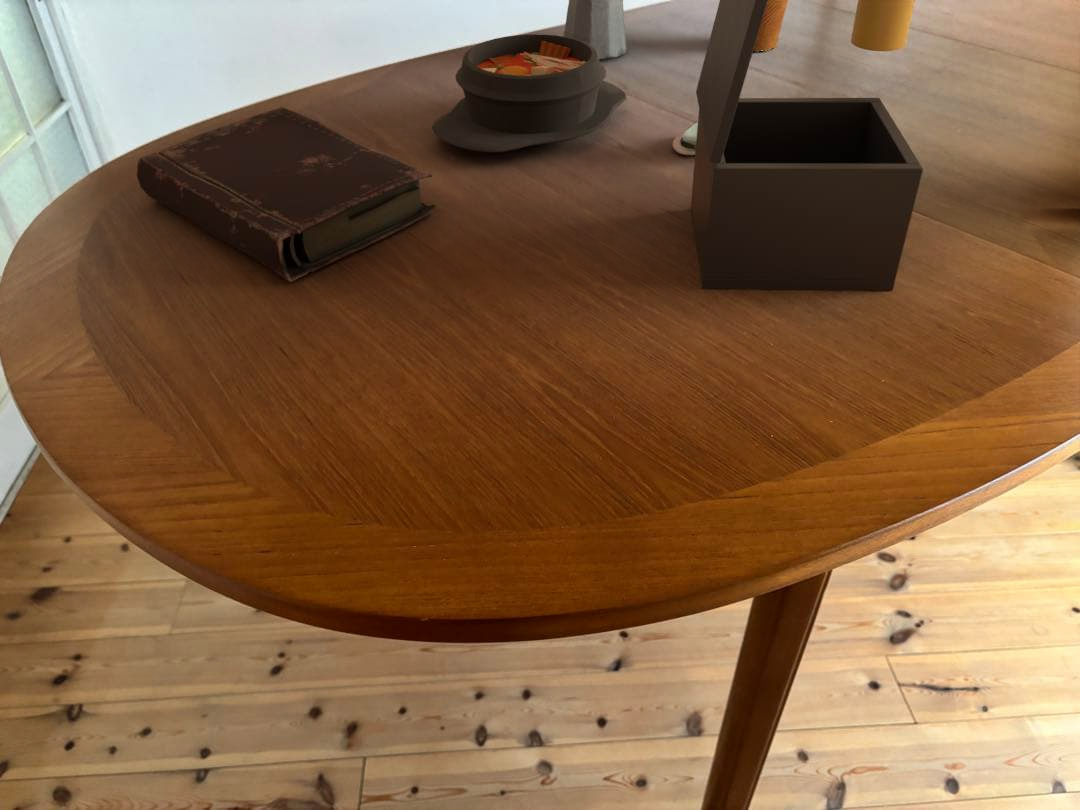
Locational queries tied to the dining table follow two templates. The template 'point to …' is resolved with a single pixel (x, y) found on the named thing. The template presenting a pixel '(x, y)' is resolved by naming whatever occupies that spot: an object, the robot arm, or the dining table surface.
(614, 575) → the dining table surface
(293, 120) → the diary
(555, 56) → the casserole
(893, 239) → the dark open-top crate
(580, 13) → the moka pot
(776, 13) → the disposable coffee cup
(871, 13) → the yellow wooden peg
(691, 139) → the pacifier
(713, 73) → the lid
